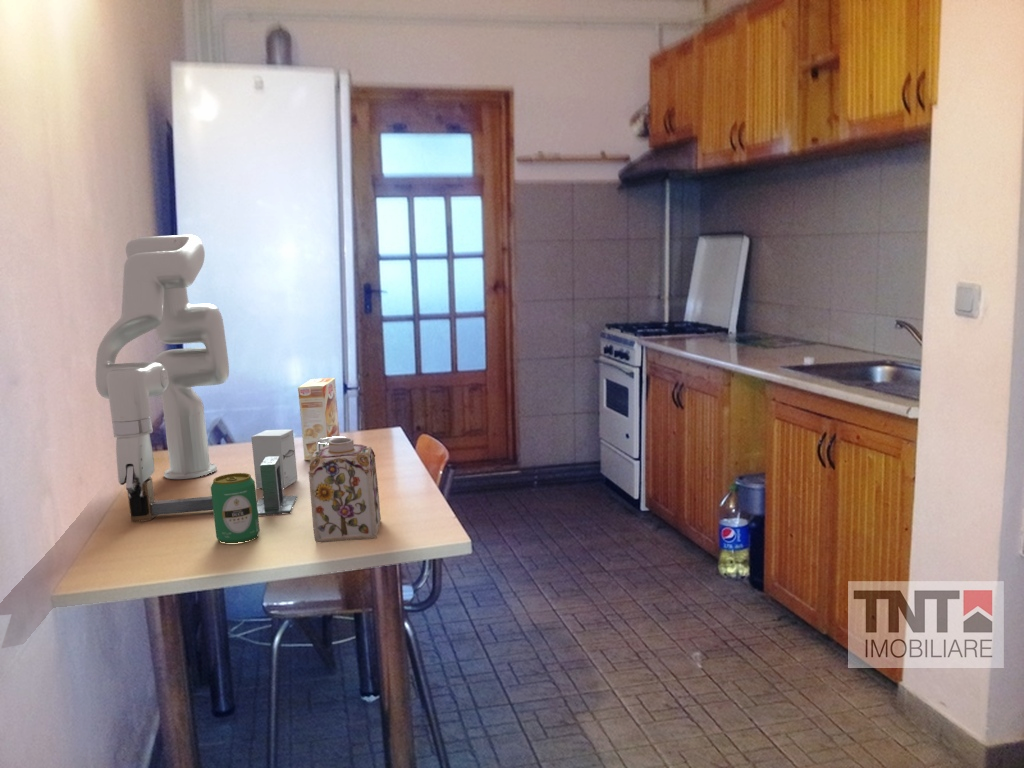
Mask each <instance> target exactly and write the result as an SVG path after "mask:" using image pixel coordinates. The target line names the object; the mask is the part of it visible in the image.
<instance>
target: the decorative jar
mask: <svg viewBox="0 0 1024 768" xmlns="http://www.w3.org/2000/svg"><path fill="white" fill-rule="evenodd" d="M309 461H310V463H309V466H308V467H309V468H308V469H309V470H308V473H307V474H308V478H309V479H308V480H309V492H310V493H309V494H310V503H311V505H310V506H311V518H312V528H313V538H314V541H315V542H316V543H317V542H321V543H331V542H341V541H342V542H343V541H345V542H346V541H355V540H356V541H357V540H367V539H376V538H377V537H378V532H379V529H380V526H381V521H382V518H381V508H380V495H379V493H380V492H379V484H378V483H379V482H378V475H377V466H376V454H375V451H374V450H373V448H372V447H371V446H368V445H365V444H358V443H357V444H355V443H354V439H353V438H350V437H346V438H338V439H332V440H330V441H329V447H327V448H323V449H320V450H317V451H314V453H313V454H312V455H311V460H309Z"/></svg>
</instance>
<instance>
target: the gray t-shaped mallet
mask: <svg viewBox="0 0 1024 768" xmlns="http://www.w3.org/2000/svg"><path fill="white" fill-rule="evenodd" d="M138 480H139V479H138ZM138 480H135V481H134V483H135V482H139V481H138ZM143 485H144V496H146V500H147V508H148V514H147V515H146V516H135V517H133V516H132V515H131V507H130V500H129V493H128V490H127V489H126V491H127V497H128V505H129V506H128V508H129V513H130V521H131V523H136V522H146V521H152V520H153V519H154V518H155V517H156V516H162V515H172V514H183V513H184V514H185V513H194V512H197V513H198V512H207V511H213V503H212V495H210V496H199V497H189V498H188V497H187V498H186V497H185V498H177V499H175V498H174V499H165V500H164V499H163V500H155V492H154V490H155V489H154V483H153V477H151V478H150V479H147V480H145V481H144V482H143ZM135 487H138V488H139V485H136V486H135Z"/></svg>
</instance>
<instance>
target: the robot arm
mask: <svg viewBox="0 0 1024 768" xmlns="http://www.w3.org/2000/svg"><path fill="white" fill-rule="evenodd" d="M125 253H126V260H125V262H124V265H123V277H122V278H123V279H122V298H121V314H120V318H118V320H117V321H116V322H115V323H114V324H113V325H111V327H110V328H109V330H108V331H107V332H106V334H105V335H104V336H103V338H102V340H101V341H100V343H99V346H98V348H97V352H96V363H95V386H96V390H97V392H98V394H99V395H100V396H101V397H102V398H103V399H107V400H108V401H109V409H110V417H111V418H110V419H111V422H112V423H111V424H112V432H113V437H114V438H116V439H115V440H116V441H115V445H116V446H115V449H116V450H115V451H116V453H115V454H116V468H117V478H118V484H120V486H121V485H122V486H123V485H125V489H126V491H127V490H128V491H127V494H128V493H129V499H128V501H129V500H130V507H131V515H132V516H133V517H135V516H146V515H147V514H148V508H147V500H146V496H144V485H143V482H144V481H145V480H147V479H150V478H152V477H151V476H152V475H154V473H155V460H154V451H153V447H152V446H153V445H152V440H151V435H150V434H152V433H153V432H154V430H153V423H152V422H153V420H152V414H151V406H150V405H151V404H150V398H154V397H158V396H160V397H161V403H162V410H163V411H162V412H163V419H164V429H165V434H166V444H167V445H166V446H167V454H168V460H169V461H168V462H169V468H168V469H166V470H165V471H164V472H163V475H164V478H166V479H167V480H188V479H189V480H190V479H196V478H200V476H201V477H204V476H203V475H205V476H207V475H206V474H209V473H211V474H213V473H212V472H214V471H215V472H216V471H217V470H218V465H217V464H216V463H212V462H211V461H210V453H209V443H208V441H209V440H208V435H207V425H206V416H205V409H204V408H205V407H204V402H203V401H202V399H201V397H200V396H199V394H197V392H196V391H195V390H194V389H193V388H195V387H206V386H216V385H218V386H219V385H222V384H224V383H226V381H227V380H228V378H229V376H230V375H229V374H230V364H229V357H228V349H227V342H226V341H227V339H226V333H225V326H224V319H223V316H222V314H221V311H220V309H219V308H218V307H217V306H216V305H214V304H211V303H195V304H191V303H190V302H189V297H188V289H187V288H189V287H190V286H191V285H192V284H193V283H194V282H195V280H196V278H197V277H198V274H199V273H200V271H201V269H202V268H203V265H204V263H205V248H204V244H203V243H202V240H201V239H200V238H199V237H198V236H196V235H193V234H179V235H178V234H177V235H175V234H174V235H157V236H156V235H154V236H144V237H143V236H142V237H137V238H134V239H131V240H129V241H128V242H127V243H126V245H125ZM154 329H155V333H156V338H158V340H159V342H160V343H162V344H165V345H183V344H186V345H187V344H201V343H202V344H203V345H204V347H194V348H193V347H189V348H187V347H186V348H175V349H174V348H173V349H167V350H164V351H162V352H160V353H159V354H157V356H156V357H155V358H154V361H144V362H123V363H116V359H117V357H118V355H119V353H120V351H122V349H123V348H124V347H125V346H126V345H127V344H128V343H130V342H132V341H133V340H136V339H137V338H138V337H141V336H142V335H144V334H146V333H148V332H150V331H151V332H152V330H154ZM215 472H214V473H215ZM209 475H210V474H209ZM138 479H139V480H138ZM135 480H138V481H139V482H135V483H134V481H135ZM136 485H139V488H138V487H135V486H136ZM130 507H129V508H130ZM131 515H130V516H131Z"/></svg>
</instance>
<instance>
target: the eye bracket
mask: <svg viewBox="0 0 1024 768" xmlns="http://www.w3.org/2000/svg"><path fill="white" fill-rule="evenodd" d="M260 470H261V480H262V489H261V490H262V497H259V499H257V500H258V501H257V510H258V515H266V516H274V515H273V514H277V515H283V514H282V513H288V514H291V513H290V512H292V510H293V508H292V507H294V506H295V503H296V501H295V500H297V499H296V498H298V495H297V494H293V495H284V489H283V484H282V474H281V464H280V456H273V457H265V459H264V460H263V462H262V463H261V465H260ZM293 505H294V506H293Z"/></svg>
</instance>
